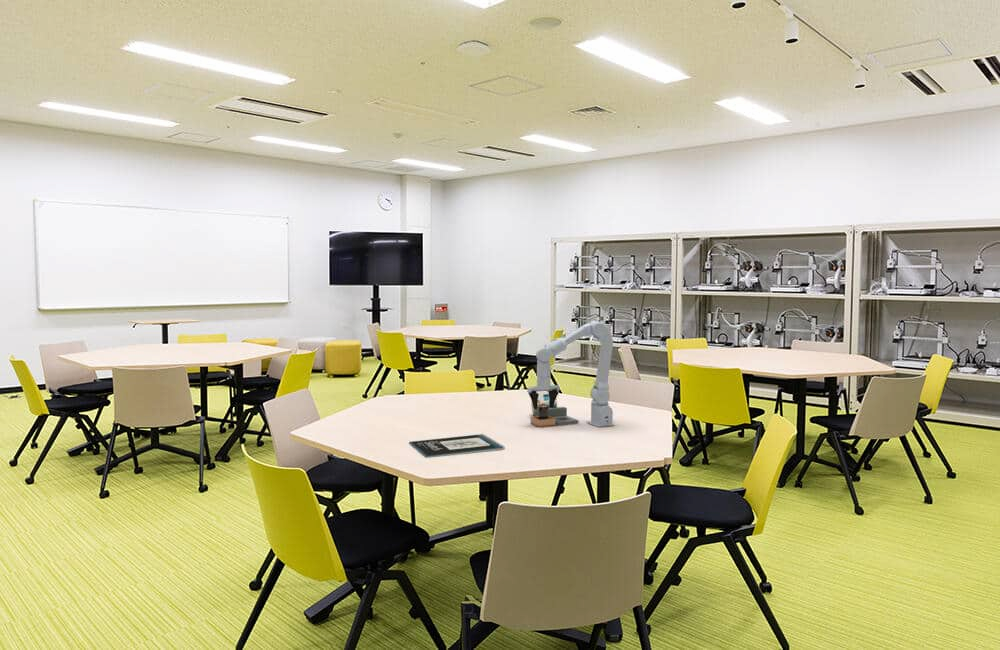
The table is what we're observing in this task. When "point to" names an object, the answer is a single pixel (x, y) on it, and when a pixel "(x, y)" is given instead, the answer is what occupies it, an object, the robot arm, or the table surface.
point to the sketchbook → (456, 445)
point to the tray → (543, 421)
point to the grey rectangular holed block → (561, 416)
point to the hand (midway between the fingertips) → (543, 408)
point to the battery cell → (542, 411)
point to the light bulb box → (542, 401)
